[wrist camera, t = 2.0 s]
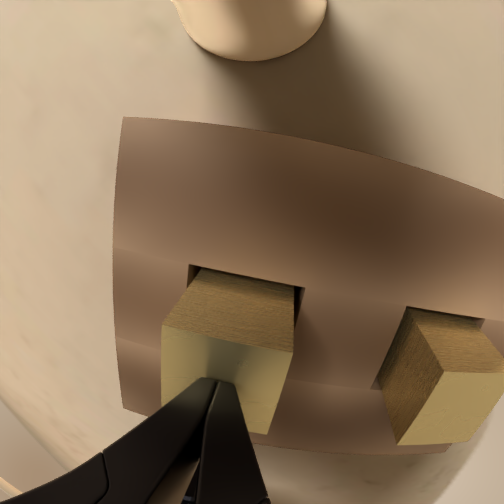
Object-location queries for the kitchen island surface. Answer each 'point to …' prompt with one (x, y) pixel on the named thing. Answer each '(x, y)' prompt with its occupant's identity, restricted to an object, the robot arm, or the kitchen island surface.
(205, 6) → the beer glass
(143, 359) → the walnut block
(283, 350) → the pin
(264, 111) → the kitchen island surface
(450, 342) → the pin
